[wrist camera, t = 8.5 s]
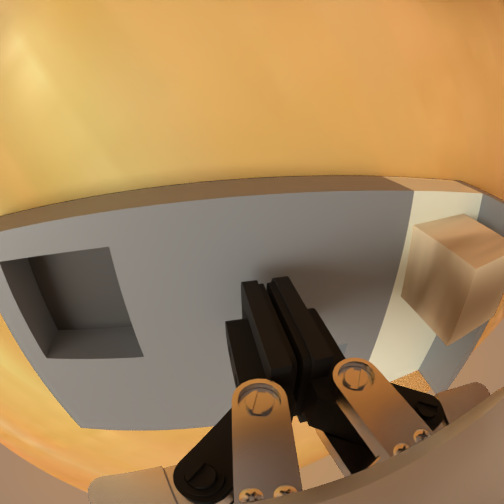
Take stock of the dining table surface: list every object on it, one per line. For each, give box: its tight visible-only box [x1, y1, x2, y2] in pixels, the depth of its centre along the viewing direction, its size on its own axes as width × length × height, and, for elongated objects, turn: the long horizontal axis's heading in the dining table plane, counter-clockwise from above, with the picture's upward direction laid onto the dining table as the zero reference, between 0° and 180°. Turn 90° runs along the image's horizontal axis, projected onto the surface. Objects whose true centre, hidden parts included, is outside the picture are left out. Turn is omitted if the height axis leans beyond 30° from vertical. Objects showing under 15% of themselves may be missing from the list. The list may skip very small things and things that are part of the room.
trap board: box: [0, 176, 504, 430], centre depth 12 cm, size 14×26×6 cm, turn 91°
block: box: [401, 214, 504, 346], centre depth 11 cm, size 4×4×4 cm
